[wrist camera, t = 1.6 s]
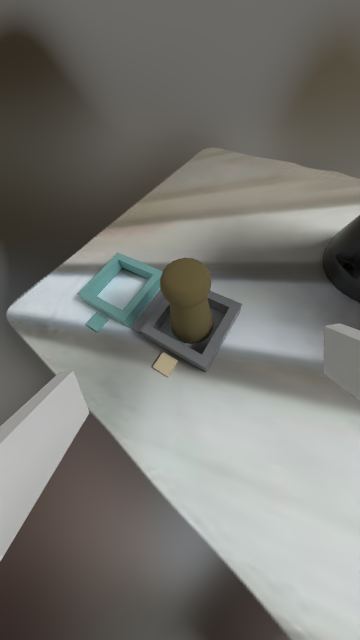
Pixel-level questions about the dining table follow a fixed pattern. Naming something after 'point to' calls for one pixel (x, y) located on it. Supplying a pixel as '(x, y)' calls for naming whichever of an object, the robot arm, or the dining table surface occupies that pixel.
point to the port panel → (155, 313)
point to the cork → (188, 299)
